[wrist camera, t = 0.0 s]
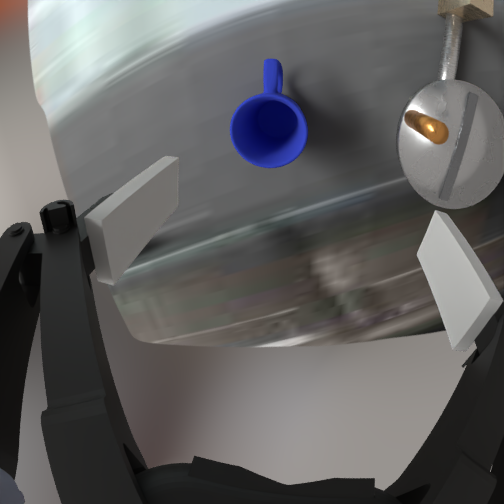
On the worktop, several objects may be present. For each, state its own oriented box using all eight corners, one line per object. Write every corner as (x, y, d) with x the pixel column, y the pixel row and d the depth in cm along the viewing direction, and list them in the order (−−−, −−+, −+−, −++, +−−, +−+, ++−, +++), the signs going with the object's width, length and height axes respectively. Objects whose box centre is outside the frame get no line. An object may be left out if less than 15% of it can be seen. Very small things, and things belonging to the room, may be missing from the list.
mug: (311, 64, 33) (312, 60, 25) (306, 149, 40) (305, 171, 31) (248, 61, 34) (229, 58, 26) (247, 144, 41) (229, 166, 33)
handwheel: (411, 59, 23) (442, 57, 16) (515, 109, 21) (556, 126, 15) (381, 186, 31) (398, 220, 24) (481, 217, 30) (510, 253, 23)
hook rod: (439, -4, 22) (470, -18, 14) (458, 5, 22) (493, -5, 14) (410, 154, 37) (435, 178, 28) (429, 160, 36) (457, 186, 28)
